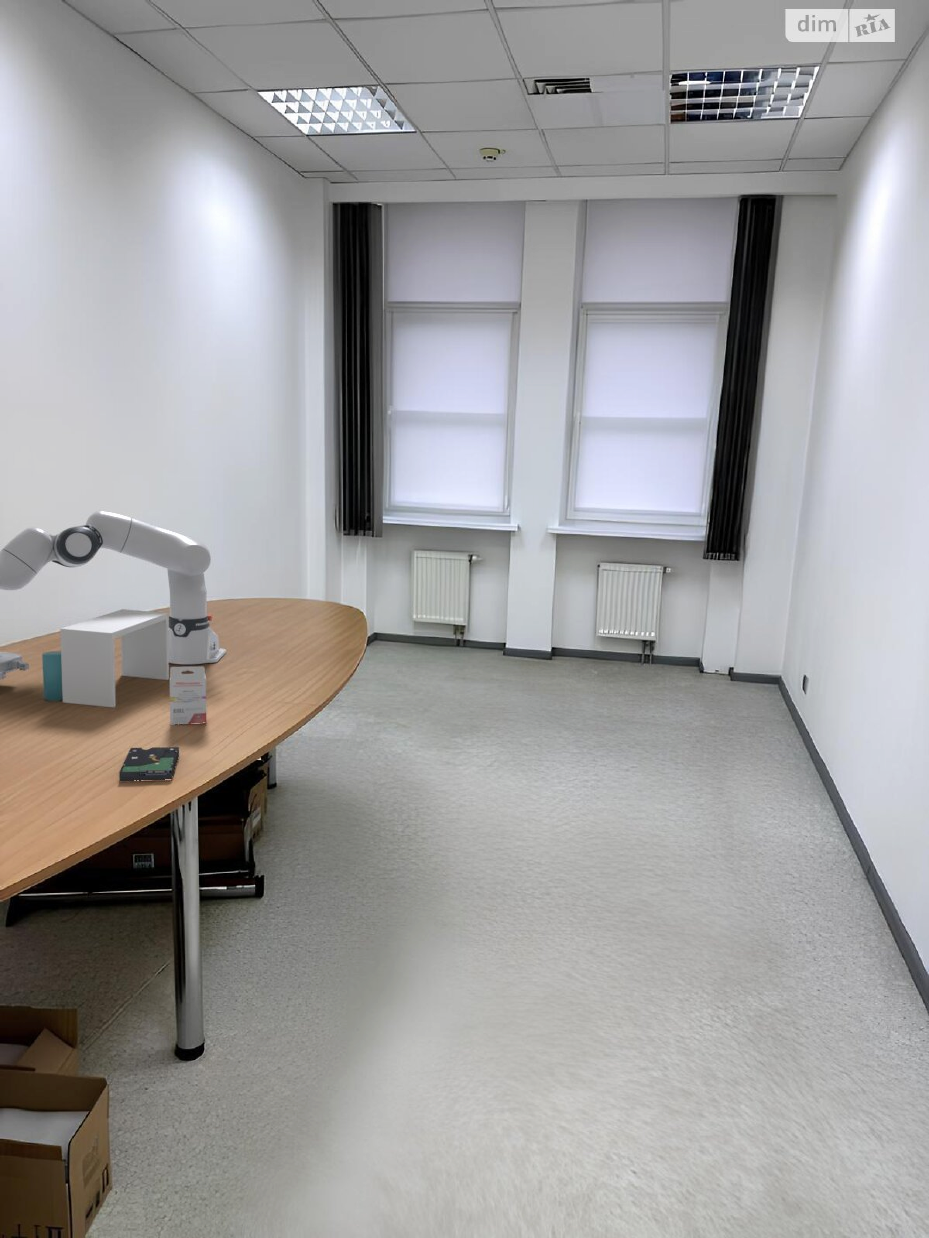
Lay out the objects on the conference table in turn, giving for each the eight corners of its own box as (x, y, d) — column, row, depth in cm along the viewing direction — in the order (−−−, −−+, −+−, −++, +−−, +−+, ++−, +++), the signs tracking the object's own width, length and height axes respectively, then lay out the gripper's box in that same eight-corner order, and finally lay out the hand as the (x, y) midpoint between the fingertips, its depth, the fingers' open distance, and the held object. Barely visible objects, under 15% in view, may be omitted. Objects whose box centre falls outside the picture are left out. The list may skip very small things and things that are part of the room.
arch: (123, 674, 252) (122, 609, 248) (168, 678, 250) (168, 613, 246) (62, 702, 222) (60, 628, 219) (113, 707, 221) (111, 633, 217)
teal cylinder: (52, 694, 229) (50, 650, 227) (71, 696, 228) (70, 652, 226) (39, 699, 224) (37, 655, 221) (58, 701, 223) (57, 656, 221)
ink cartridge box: (206, 718, 216) (206, 661, 214) (206, 724, 212) (206, 666, 209) (170, 719, 214) (170, 662, 211) (169, 725, 209) (169, 667, 206)
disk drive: (129, 759, 187) (119, 784, 173) (129, 747, 187) (118, 771, 173) (179, 758, 190) (172, 782, 176) (179, 746, 189) (172, 769, 175)
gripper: (-62, 664, 217) (-12, 668, 216) (-7, 647, 237) (39, 651, 236) (-60, 688, 219) (-11, 693, 217) (-6, 669, 239) (40, 673, 237)
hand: (15, 671), depth 226 cm, fingers open, 8 cm apart
